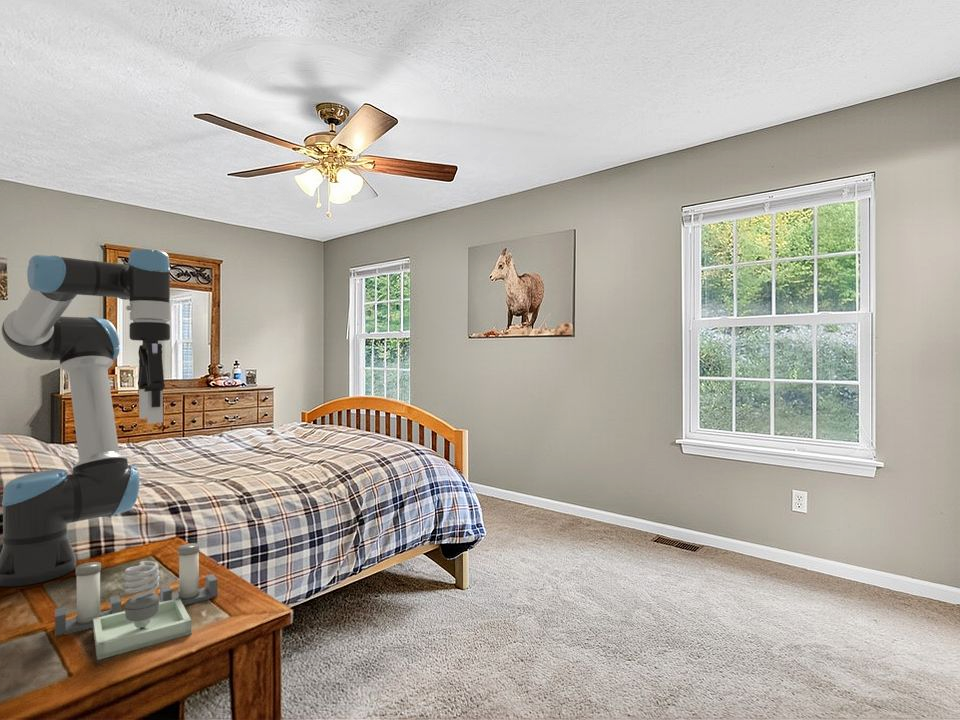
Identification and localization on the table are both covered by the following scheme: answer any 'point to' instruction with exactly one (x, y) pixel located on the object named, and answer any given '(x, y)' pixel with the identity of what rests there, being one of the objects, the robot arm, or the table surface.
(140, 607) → the light bulb
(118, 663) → the table surface
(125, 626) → the tray
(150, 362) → the robot arm
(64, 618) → the clip block
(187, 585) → the grey capped cylinder
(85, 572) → the fuse
